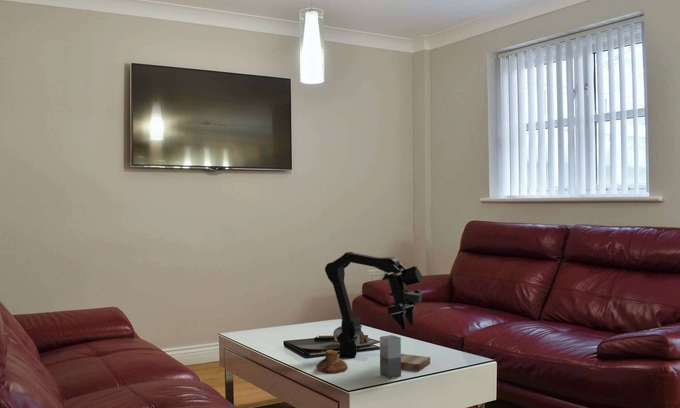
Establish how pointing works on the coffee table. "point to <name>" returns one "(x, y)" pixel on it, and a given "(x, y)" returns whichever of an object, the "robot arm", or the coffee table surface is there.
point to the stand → (414, 362)
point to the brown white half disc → (359, 340)
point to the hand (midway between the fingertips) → (408, 327)
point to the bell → (331, 363)
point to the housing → (390, 356)
